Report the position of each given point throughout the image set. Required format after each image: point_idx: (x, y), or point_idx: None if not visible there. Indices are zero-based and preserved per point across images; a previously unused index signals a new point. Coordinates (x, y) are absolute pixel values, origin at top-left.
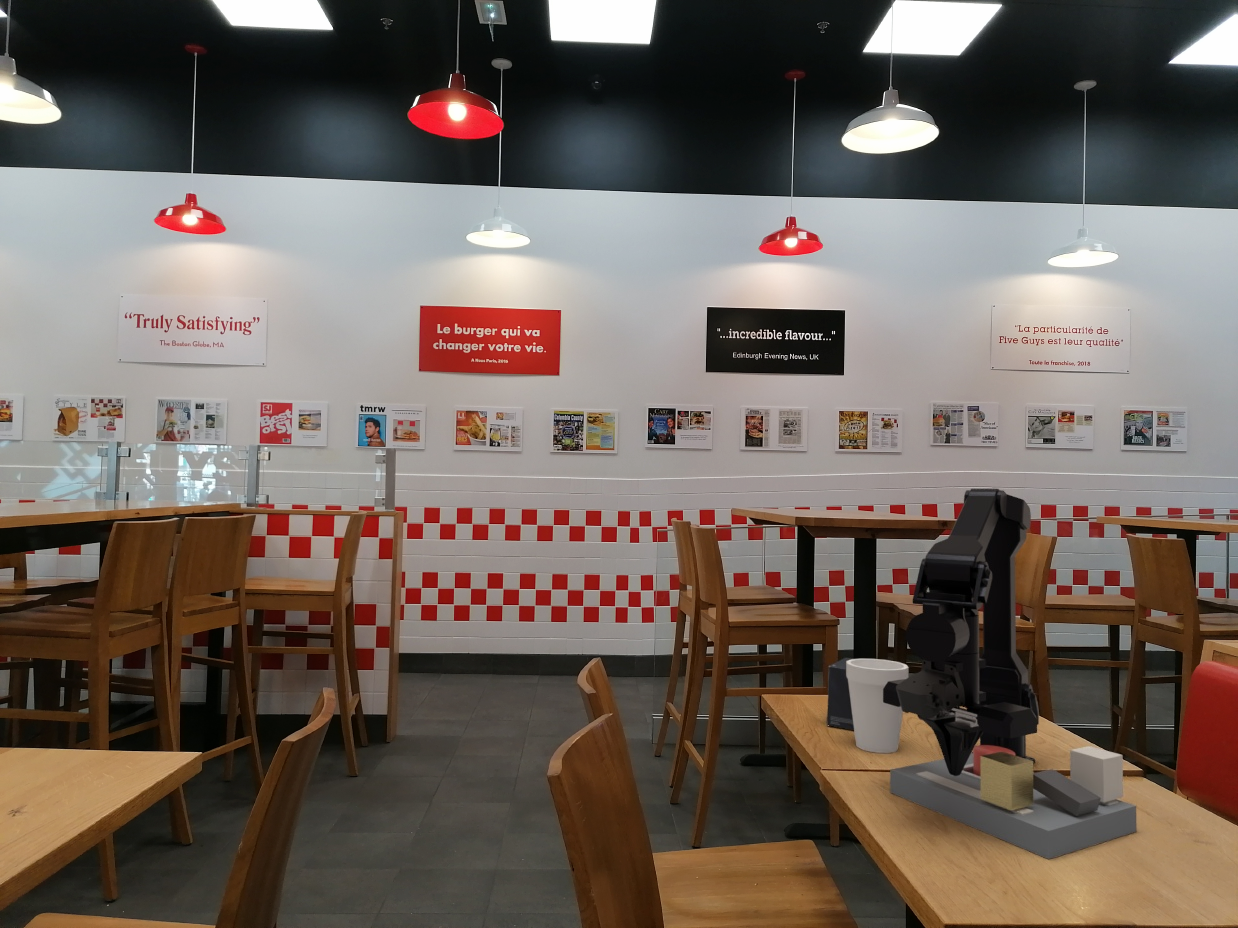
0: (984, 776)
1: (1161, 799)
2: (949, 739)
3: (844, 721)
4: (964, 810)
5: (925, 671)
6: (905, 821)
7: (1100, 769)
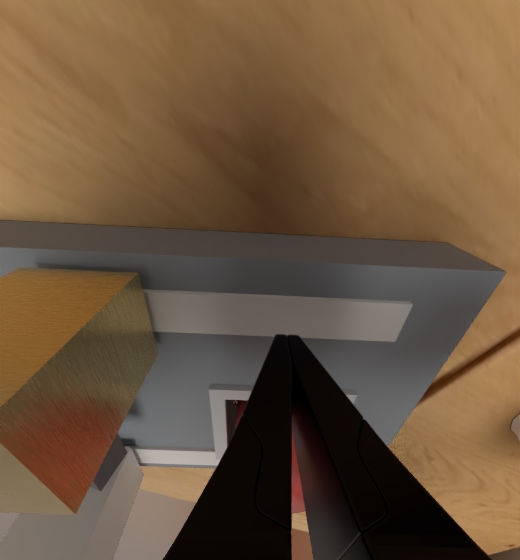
0: (61, 324)
1: (175, 489)
2: (329, 494)
3: None
4: (203, 242)
5: None
6: (306, 67)
7: (14, 533)
